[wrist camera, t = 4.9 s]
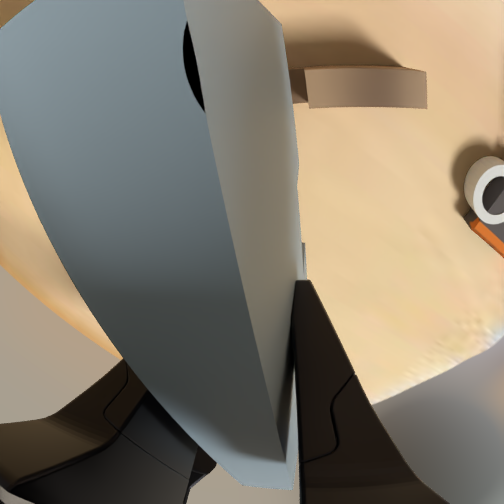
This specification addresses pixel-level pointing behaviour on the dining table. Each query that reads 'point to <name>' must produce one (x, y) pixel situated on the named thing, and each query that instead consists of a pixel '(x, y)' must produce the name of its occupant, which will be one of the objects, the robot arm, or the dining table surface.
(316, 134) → the dining table surface
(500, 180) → the electronic device
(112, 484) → the robot arm
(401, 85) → the base plate
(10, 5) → the dining table surface
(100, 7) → the slotted plate
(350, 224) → the dining table surface
